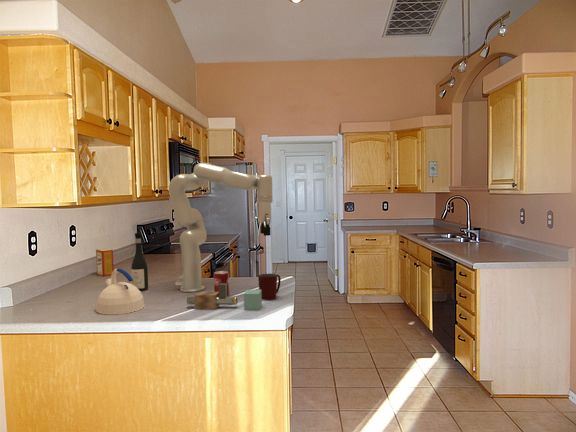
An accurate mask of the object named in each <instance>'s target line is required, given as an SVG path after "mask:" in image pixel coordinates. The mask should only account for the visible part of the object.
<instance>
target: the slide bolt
mask: <svg viewBox="0 0 576 432" xmlns="http://www.w3.org/2000/svg"><path fill="white" fill-rule="evenodd" d="M216 304H217V305H219V306H220V305H223V306H224V305H229V306H230V305H234V306H235V305H238V296H229V297H227V283H220V284H219V297H216ZM186 305H194V306H195V302H194V296H187V297H186Z"/></svg>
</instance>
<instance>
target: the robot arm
mask: <svg viewBox="0 0 576 432" xmlns="http://www.w3.org/2000/svg"><path fill="white" fill-rule="evenodd" d="M208 182H211V183H215V184H219V185H222V186H227V187H231V188H235V189H239V190H244V191H252V190H253V191H254V190H256V191H257V192H256V197H257V199H256V200H257V204H258V222H259V223H260V234H263V236H265V237H266V236H271V222H272V212H271V210H272V209H271V208H272V206H271V204H272V203H273V177H272V175H271V174H258V175H255V174H249V173H248V174H247V173H241V172H237V171H233V170H230V169H228V168H227V167H224V166H219V165H216V164H215V165H214V164H212V163H211V162H208V163H207V162H199V163H197V164H196V165H195V166H194V167H193V172H192V173H190V174H189V173H180V174H177V175H176V176H174V177H173V178H171V180H170V182H169V185H168V193H169V198H170V200H171V205H172V207H173V211H174V216H175V219H176V221H177V224H178V225H179V226H180V227H183V228H187V229H186V230H185V229H184V231H182V233H181V234H180V236H179V244H180V250H181V266H182V268H181V269H182V280H181V281H175V283H174V284H175V286H176V287H180V288H179V291H180V292H184V293H195V292H196V293H198V292H202V291H203V290H205V289H206V288H205V285H202V284H203V283H202V259H201V258H202V257H201V250H200V246H201V245H203V244H205V242H206V241H207V237H208V236H207V230H206V227H205V223H204V219H203V215H202V214H201V212H200V211H199V210H198V209H197V208H196V207H195V208H193V207H192V206H191V204H190V199H189V198H188V195H187V194H186V191H195V190H197V189H199V188H200V187H202V186H203V185H205V184H208Z"/></svg>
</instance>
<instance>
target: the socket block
mask: <svg viewBox="0 0 576 432" xmlns="http://www.w3.org/2000/svg"><path fill="white" fill-rule="evenodd" d="M262 301H263V300H262V295H261V290H259V289H246V290H245V291H244V292H243V309H244V311H260V309H261V307H262V305H263V304H262Z"/></svg>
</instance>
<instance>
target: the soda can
mask: <svg viewBox="0 0 576 432" xmlns="http://www.w3.org/2000/svg"><path fill="white" fill-rule="evenodd" d="M220 283H227V297H230V273H229V272H228V271H227V270H218V271H215V272H214V273H213V292H219V284H220Z"/></svg>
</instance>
